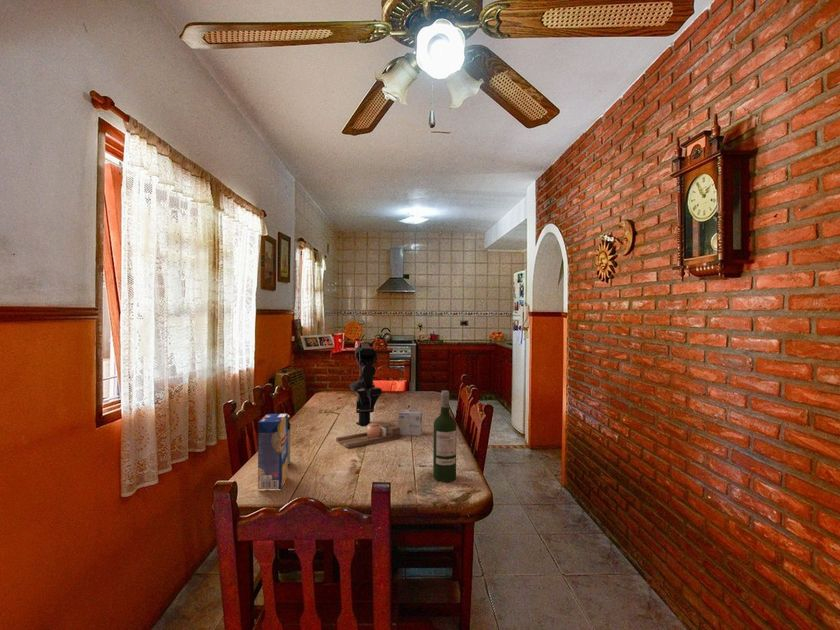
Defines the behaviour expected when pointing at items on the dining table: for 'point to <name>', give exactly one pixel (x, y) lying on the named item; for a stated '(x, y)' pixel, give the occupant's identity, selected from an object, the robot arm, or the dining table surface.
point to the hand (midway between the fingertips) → (367, 407)
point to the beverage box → (272, 451)
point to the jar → (373, 430)
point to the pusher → (383, 432)
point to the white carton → (410, 422)
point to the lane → (362, 439)
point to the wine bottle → (444, 443)
